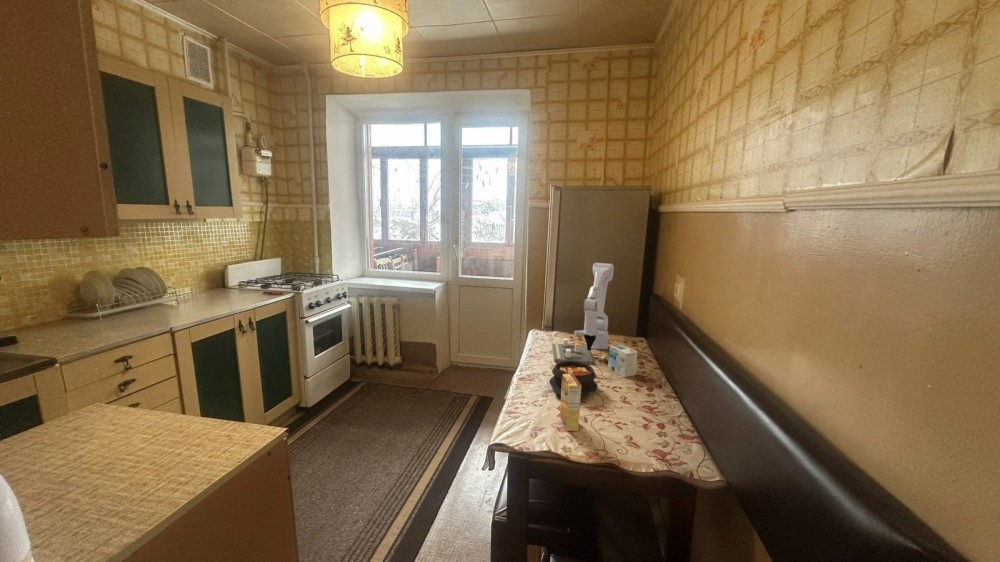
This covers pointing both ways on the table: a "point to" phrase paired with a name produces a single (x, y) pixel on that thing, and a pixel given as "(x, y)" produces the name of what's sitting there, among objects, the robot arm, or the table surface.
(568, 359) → the breaker panel
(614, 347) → the light bulb box
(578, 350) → the handle
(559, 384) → the casserole
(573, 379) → the candy box
